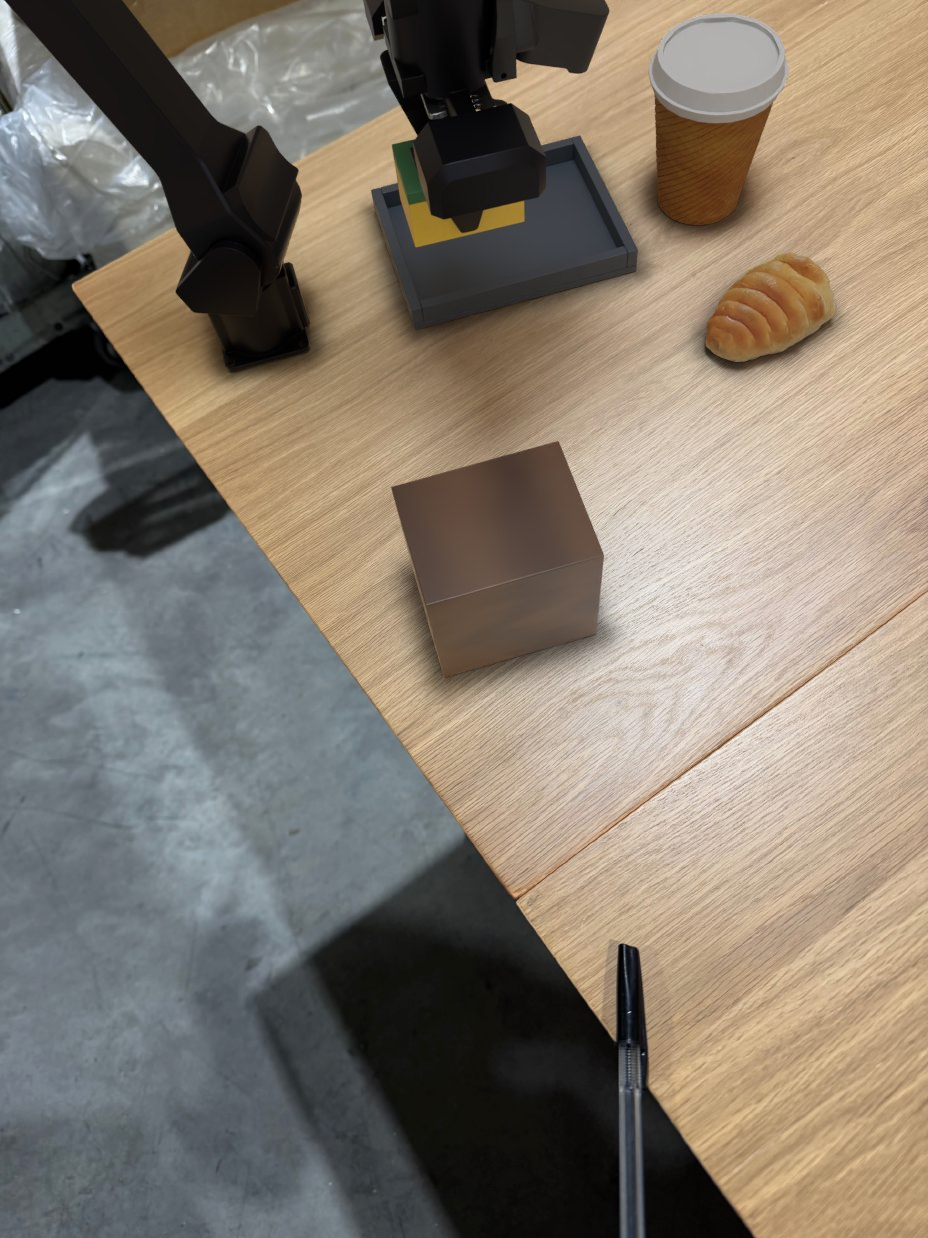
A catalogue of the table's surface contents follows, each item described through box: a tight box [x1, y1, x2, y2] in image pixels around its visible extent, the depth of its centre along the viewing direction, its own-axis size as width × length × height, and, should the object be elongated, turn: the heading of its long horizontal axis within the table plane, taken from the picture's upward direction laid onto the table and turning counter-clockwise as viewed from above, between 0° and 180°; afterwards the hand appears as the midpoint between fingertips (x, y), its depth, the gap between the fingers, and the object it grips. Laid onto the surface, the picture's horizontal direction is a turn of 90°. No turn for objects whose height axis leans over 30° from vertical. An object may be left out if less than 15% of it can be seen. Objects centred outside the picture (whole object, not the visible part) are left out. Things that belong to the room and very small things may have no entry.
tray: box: [370, 135, 639, 331], centre depth 75 cm, size 18×14×2 cm
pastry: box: [705, 252, 837, 363], centre depth 69 cm, size 9×7×4 cm
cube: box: [390, 440, 605, 678], centre depth 58 cm, size 10×8×10 cm
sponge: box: [391, 138, 525, 247], centre depth 59 cm, size 7×4×4 cm, turn 104°
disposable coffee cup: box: [648, 12, 789, 226], centre depth 71 cm, size 10×10×12 cm
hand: (460, 204), depth 60 cm, fingers closed on sponge, 4 cm apart
